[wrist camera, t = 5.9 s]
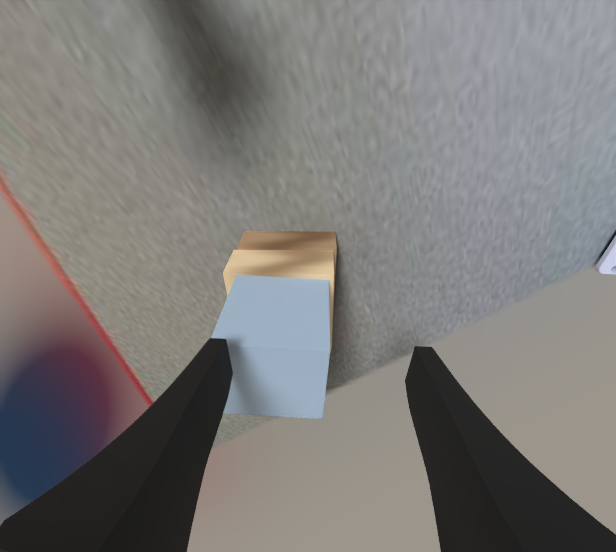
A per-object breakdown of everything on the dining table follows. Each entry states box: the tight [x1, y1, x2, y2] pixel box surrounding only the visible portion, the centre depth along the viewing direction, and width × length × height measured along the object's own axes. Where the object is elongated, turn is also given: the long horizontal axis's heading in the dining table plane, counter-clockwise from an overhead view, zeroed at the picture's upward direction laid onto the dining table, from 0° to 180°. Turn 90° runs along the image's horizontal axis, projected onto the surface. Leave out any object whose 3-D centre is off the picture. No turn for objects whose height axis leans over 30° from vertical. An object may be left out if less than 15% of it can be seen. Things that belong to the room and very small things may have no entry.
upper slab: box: [223, 250, 334, 351], centre depth 20 cm, size 6×6×2 cm
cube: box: [211, 275, 330, 419], centre depth 16 cm, size 5×5×5 cm
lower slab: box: [237, 231, 337, 314], centre depth 22 cm, size 6×6×2 cm
